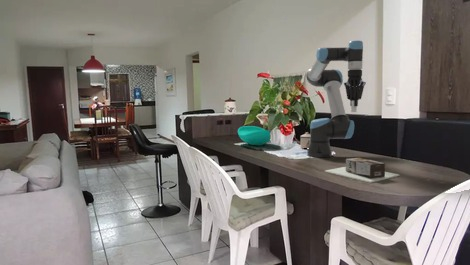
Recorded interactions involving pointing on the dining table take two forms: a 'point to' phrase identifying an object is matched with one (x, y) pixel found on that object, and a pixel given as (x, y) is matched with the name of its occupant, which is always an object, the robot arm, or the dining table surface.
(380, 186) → the dining table surface
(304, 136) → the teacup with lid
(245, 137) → the table top decor
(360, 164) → the coffee box
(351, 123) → the robot arm
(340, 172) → the mat
